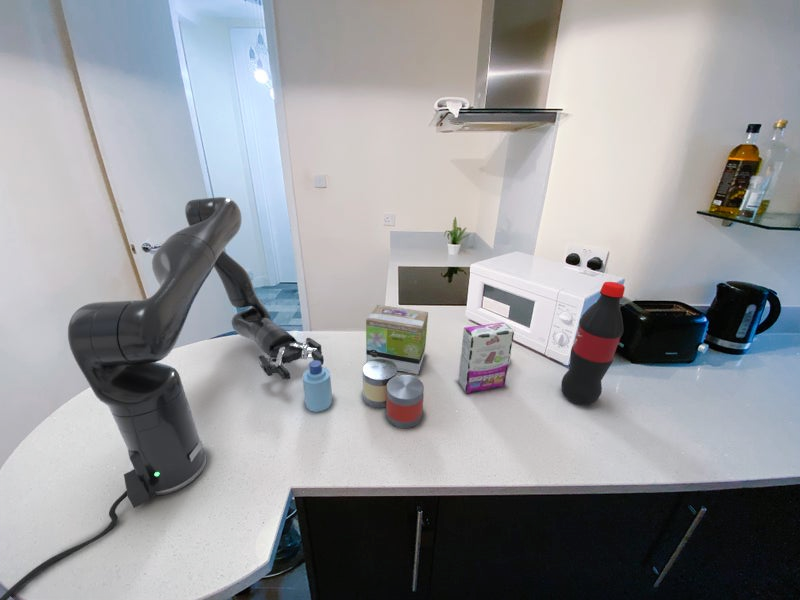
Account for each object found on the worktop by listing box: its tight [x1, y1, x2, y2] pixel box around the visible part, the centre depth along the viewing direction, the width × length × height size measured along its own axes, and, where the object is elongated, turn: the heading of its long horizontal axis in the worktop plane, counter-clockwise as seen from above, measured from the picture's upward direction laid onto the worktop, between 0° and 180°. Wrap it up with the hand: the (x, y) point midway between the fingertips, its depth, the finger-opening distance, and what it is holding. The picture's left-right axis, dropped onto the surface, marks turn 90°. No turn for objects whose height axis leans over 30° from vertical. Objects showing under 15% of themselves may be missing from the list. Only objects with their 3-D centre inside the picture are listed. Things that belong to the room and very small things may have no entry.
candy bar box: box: [457, 321, 515, 394], centre depth 78 cm, size 11×5×16 cm, turn 105°
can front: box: [385, 374, 425, 429], centre depth 69 cm, size 8×8×8 cm
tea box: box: [365, 304, 429, 375], centre depth 87 cm, size 15×10×15 cm
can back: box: [362, 359, 398, 409], centre depth 75 cm, size 8×8×8 cm
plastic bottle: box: [302, 360, 333, 413], centre depth 71 cm, size 6×6×11 cm
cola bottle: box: [560, 281, 626, 406], centre depth 72 cm, size 8×8×30 cm
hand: (306, 368), depth 74 cm, fingers open, 8 cm apart
